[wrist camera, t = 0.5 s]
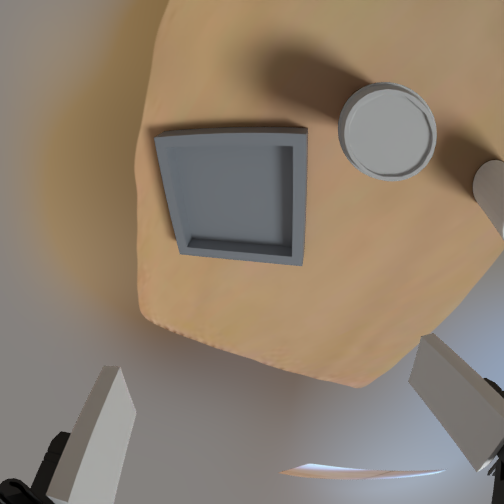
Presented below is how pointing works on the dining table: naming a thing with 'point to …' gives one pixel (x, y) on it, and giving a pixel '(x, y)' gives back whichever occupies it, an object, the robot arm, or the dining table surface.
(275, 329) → the dining table surface
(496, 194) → the mug
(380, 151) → the disposable coffee cup
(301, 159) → the slate tray
